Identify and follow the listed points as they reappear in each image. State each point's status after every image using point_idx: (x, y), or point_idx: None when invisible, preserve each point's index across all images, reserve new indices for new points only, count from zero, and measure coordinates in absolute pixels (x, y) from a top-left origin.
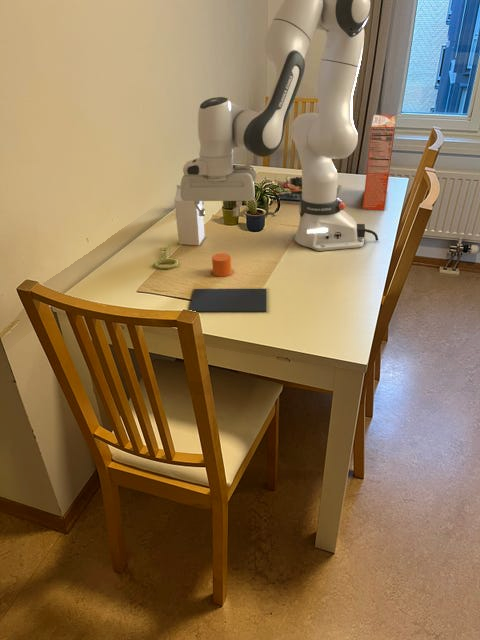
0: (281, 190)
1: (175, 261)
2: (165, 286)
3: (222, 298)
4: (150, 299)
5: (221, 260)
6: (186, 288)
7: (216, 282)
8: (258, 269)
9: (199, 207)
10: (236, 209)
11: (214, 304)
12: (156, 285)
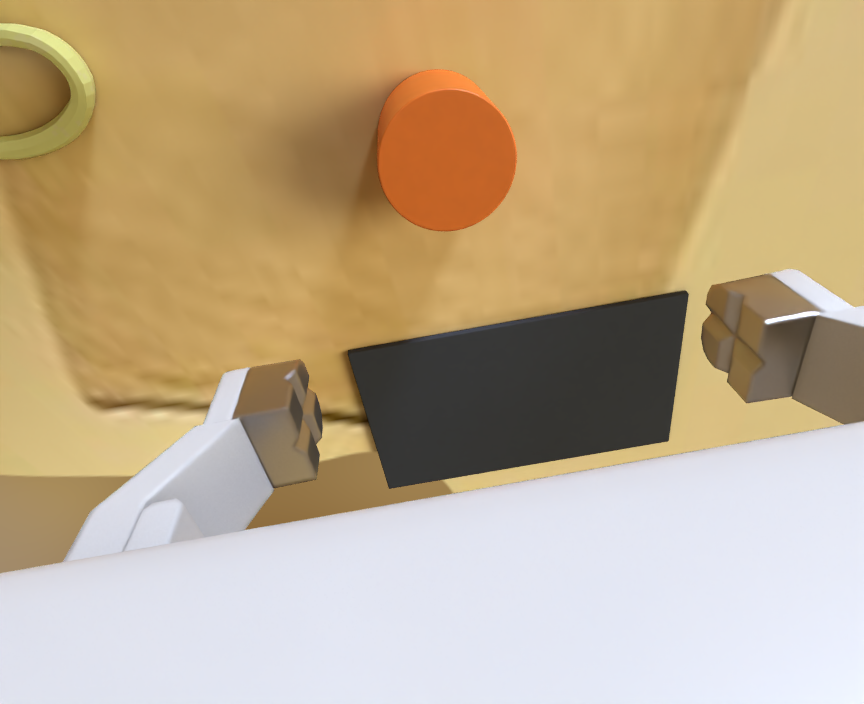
0: None
1: (52, 58)
2: (190, 342)
3: (495, 400)
4: None
5: (460, 222)
6: (302, 341)
7: (432, 261)
8: (668, 45)
9: (235, 508)
10: (811, 404)
11: (471, 440)
12: (139, 341)
